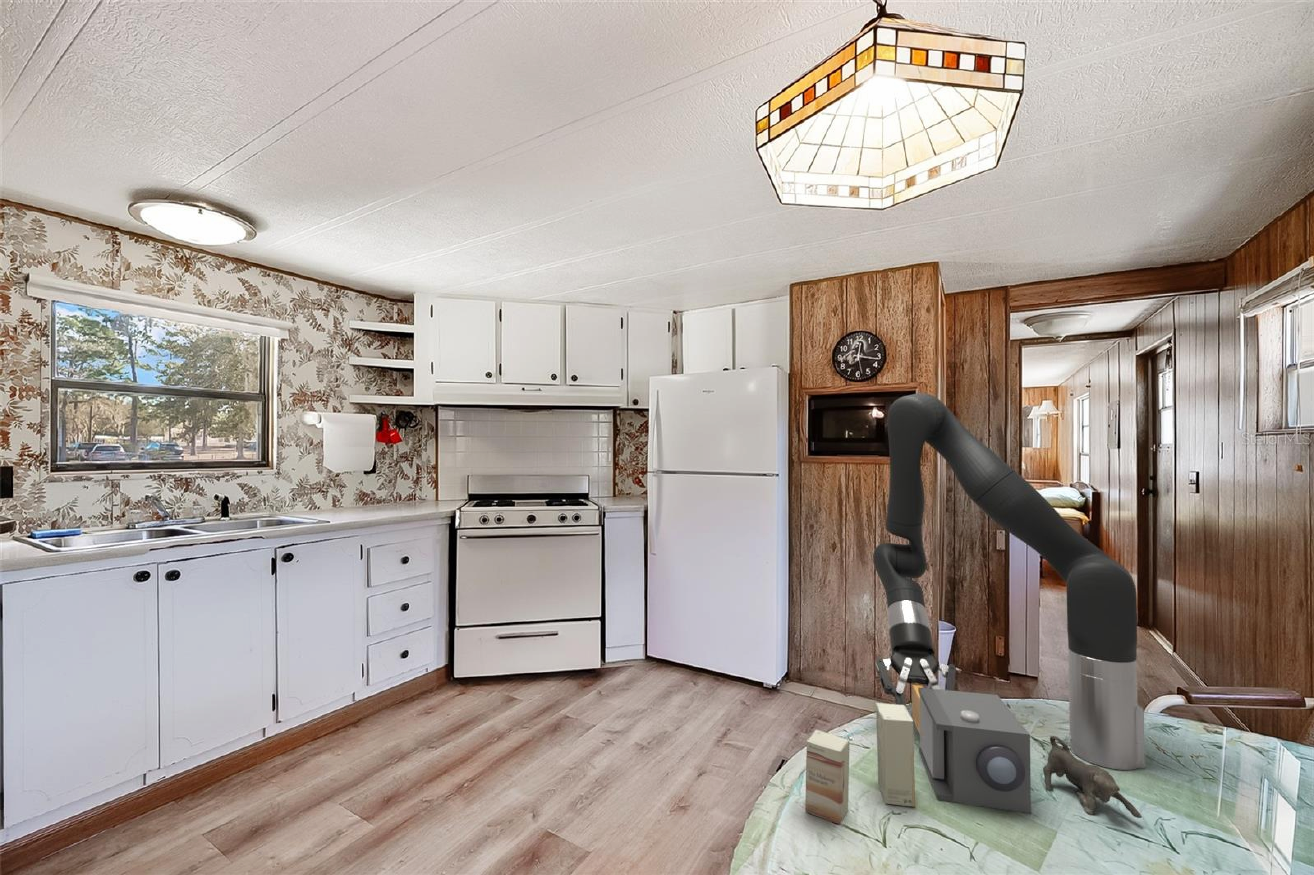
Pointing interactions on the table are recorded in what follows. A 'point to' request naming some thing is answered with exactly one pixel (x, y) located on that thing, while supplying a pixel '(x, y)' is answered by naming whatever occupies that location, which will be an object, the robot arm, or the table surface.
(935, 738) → the door
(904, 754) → the skincare box
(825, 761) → the skincare box
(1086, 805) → the dog figurine
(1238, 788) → the table surface
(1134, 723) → the robot arm
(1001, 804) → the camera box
